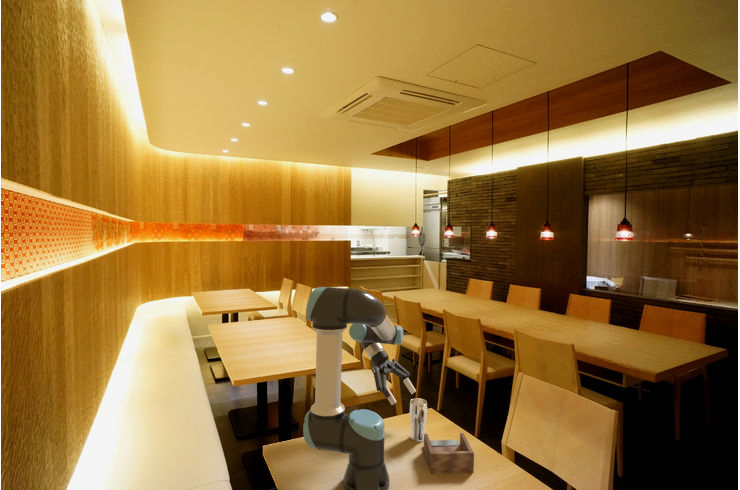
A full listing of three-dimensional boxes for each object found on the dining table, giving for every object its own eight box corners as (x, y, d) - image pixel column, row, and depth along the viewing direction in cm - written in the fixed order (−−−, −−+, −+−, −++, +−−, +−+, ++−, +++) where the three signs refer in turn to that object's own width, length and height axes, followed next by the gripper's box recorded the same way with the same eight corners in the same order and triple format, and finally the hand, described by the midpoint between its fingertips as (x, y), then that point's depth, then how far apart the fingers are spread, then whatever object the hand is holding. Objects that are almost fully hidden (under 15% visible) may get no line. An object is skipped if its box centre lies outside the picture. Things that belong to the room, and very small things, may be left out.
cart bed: (430, 473, 137) (431, 454, 137) (421, 445, 154) (422, 428, 154) (473, 472, 138) (474, 452, 138) (459, 444, 155) (460, 427, 154)
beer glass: (406, 434, 162) (407, 399, 161) (422, 432, 164) (422, 396, 163) (413, 444, 155) (414, 406, 154) (429, 441, 157) (430, 404, 156)
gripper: (390, 351, 185) (416, 392, 176) (352, 366, 166) (380, 413, 157) (399, 342, 181) (426, 384, 172) (362, 357, 162) (390, 404, 153)
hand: (404, 398), depth 165 cm, fingers open, 13 cm apart
